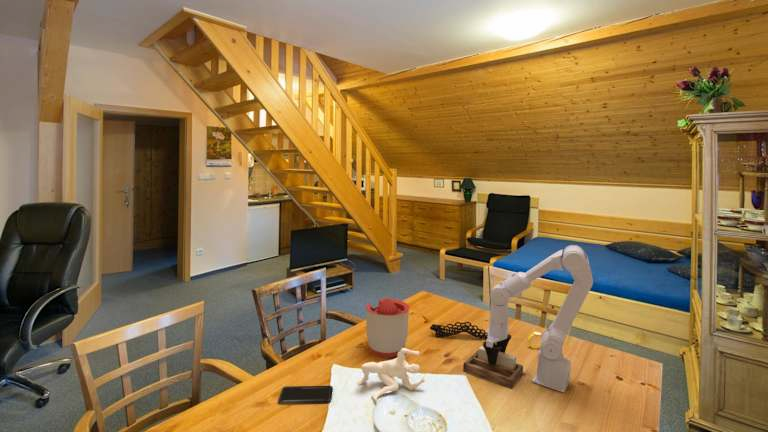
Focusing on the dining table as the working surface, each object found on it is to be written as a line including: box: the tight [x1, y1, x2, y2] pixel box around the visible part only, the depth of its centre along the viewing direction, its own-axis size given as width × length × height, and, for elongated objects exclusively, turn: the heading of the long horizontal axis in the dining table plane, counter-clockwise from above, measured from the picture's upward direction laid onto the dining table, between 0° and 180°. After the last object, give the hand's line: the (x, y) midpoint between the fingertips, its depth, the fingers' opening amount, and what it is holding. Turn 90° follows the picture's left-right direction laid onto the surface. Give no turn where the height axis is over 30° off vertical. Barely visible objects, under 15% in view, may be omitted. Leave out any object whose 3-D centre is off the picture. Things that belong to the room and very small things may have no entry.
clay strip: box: [477, 345, 517, 371], centre depth 131 cm, size 12×2×5 cm, turn 53°
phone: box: [277, 385, 334, 405], centre depth 115 cm, size 8×1×15 cm
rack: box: [462, 350, 524, 389], centre depth 130 cm, size 16×11×3 cm
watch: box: [527, 331, 542, 350], centre depth 147 cm, size 6×3×6 cm, turn 88°
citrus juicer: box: [365, 297, 410, 359], centre depth 143 cm, size 16×17×20 cm
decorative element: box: [429, 321, 488, 340], centre depth 156 cm, size 22×5×6 cm, turn 86°
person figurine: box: [356, 347, 426, 404], centre depth 120 cm, size 13×13×18 cm
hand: (496, 359), depth 131 cm, fingers open, 7 cm apart
